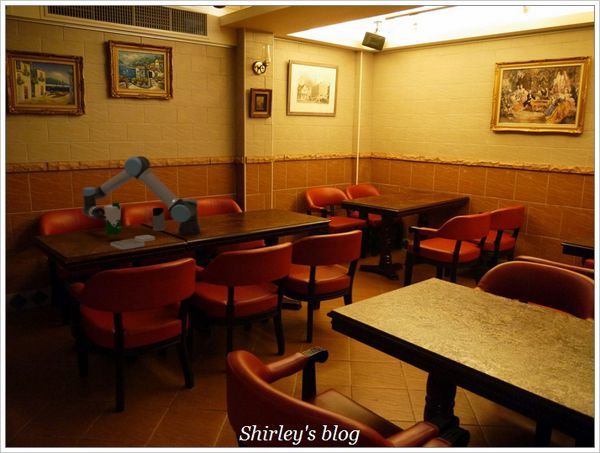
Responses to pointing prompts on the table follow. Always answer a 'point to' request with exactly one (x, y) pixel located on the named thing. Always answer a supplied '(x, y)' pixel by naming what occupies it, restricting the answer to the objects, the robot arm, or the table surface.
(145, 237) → the small square white tray
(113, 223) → the milk carton
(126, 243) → the shallow grey tray
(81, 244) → the table surface
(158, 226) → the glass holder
